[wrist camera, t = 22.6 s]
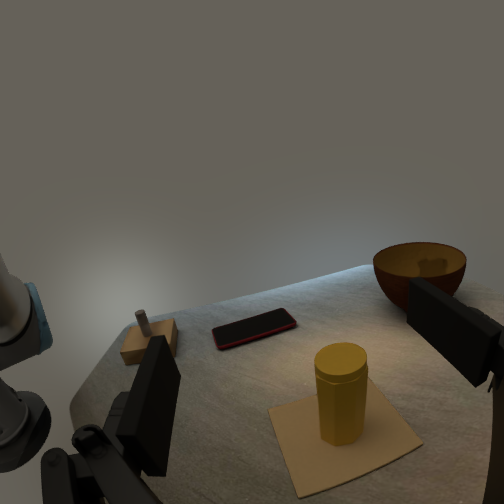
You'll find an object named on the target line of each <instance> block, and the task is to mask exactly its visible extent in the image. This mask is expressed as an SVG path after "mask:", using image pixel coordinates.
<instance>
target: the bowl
mask: <svg viewBox="0 0 504 504" xmlns="http://www.w3.org/2000/svg"><path fill="white" fill-rule="evenodd" d="M373 265H374V271H375V275H376V278H377V281H378V283H379V285H380V287H381V289H382V290H383V292H384V293H385V295H386V296H387V297H388V299H389V300H390V301H392V302H393V303H394V304H395V305H397V306H399V307H400V308H403V309H404V310H405V311H406V312H407V311H408V291H409V280H410V279H413V278H416V277H421V278H423V279H424V280H426V281H428V282H429V283H431V284H433V285H434V286H436V287H437V288H439V289H441V290H442V291H444V292H445V293H447V294H448V295H450V296H453V295H454V293H455V292H456V290H457V289H458V287H459V285H460V283H461V281H462V279H463V276H464V272H465V268H466V256H465V255H464V253H463V252H462V251H460V250H458V249H456V248H454V247H452V246H448V245H444V244H439V243H430V242H413V243H404V244H398V245H394V246H391V247H388V248H385V249H383V250H381V251H380V252H378V253H377V254H376V255H375V256H374V258H373Z"/></svg>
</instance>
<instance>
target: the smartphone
mask: <svg viewBox="0 0 504 504" xmlns="http://www.w3.org/2000/svg"><path fill="white" fill-rule="evenodd" d="M295 325H296V320H295V319H294V318H293V317H292V316H291V315H290V314H289V313H288V312H287V311H286V310H285V309H284V308H279V309H276V310H273V311H269V312H266V313H263V314H260V315H257V316H253V317H250V318H247V319H243V320H240V321H237V322H233V323H230V324H226V325H223V326H219V327H216V328H214V329H212V334H213V337H214V340H215V343H216V346H217V348H218V349H224V348H228V347H231V346H234V345H238V344H241V343H244V342H248V341H251V340H254V339H257V338H260V337H263V336H267V335H270V334H273V333H276V332H279V331H282V330H286V329H288V328H291V327H293V326H295Z"/></svg>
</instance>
